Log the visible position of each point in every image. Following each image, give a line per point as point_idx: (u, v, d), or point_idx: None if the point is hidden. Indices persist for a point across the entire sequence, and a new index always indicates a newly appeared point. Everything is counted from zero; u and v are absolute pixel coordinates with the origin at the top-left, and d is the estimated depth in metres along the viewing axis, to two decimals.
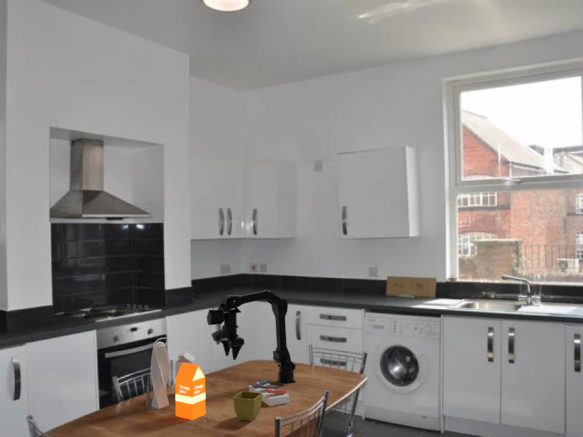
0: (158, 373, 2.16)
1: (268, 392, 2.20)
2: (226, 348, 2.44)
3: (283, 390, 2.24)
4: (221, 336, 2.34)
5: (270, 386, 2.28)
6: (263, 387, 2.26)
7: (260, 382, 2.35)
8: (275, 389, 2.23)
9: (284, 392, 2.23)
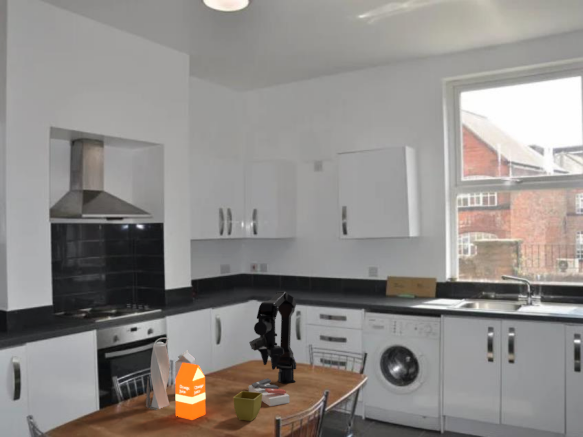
0: (158, 373, 2.16)
1: (268, 392, 2.20)
2: (264, 356, 2.35)
3: (283, 390, 2.24)
4: (260, 345, 2.25)
5: (270, 386, 2.28)
6: (263, 387, 2.26)
7: (260, 382, 2.35)
8: (275, 389, 2.23)
9: (284, 392, 2.23)
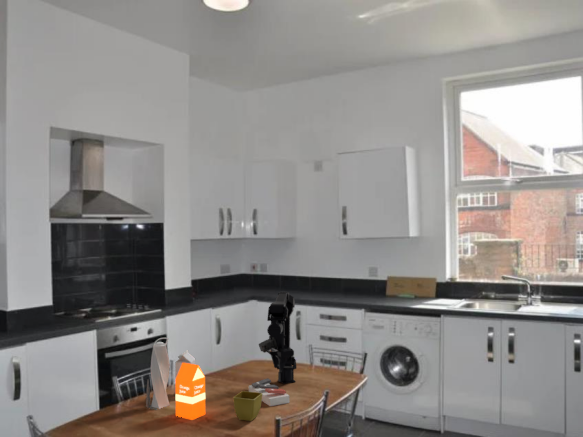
0: (158, 373, 2.16)
1: (268, 392, 2.20)
2: (275, 359, 2.32)
3: (283, 390, 2.24)
4: (270, 347, 2.23)
5: (270, 386, 2.28)
6: (263, 387, 2.26)
7: (260, 382, 2.35)
8: (275, 389, 2.23)
9: (284, 392, 2.23)
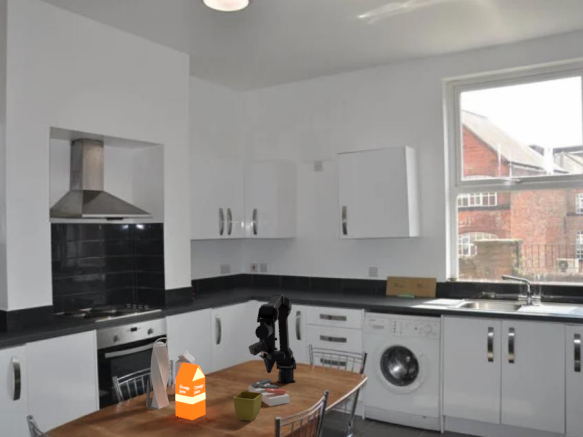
0: (158, 373, 2.16)
1: (268, 392, 2.20)
2: None
3: (283, 390, 2.24)
4: (260, 349, 2.16)
5: (270, 386, 2.28)
6: (263, 387, 2.26)
7: (260, 382, 2.35)
8: (275, 389, 2.23)
9: (284, 392, 2.23)
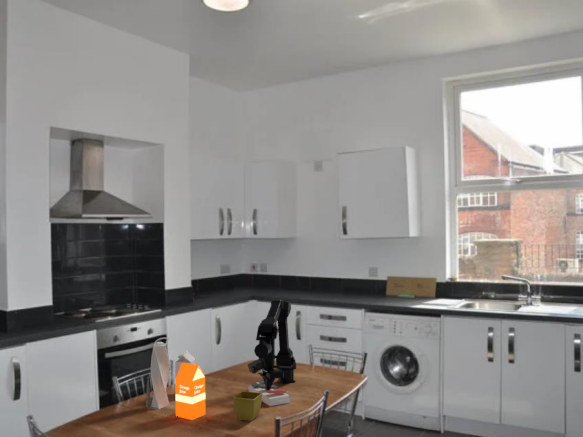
0: (158, 373, 2.16)
1: (268, 392, 2.20)
2: None
3: (283, 390, 2.24)
4: (259, 368, 2.15)
5: None
6: (263, 387, 2.26)
7: (260, 382, 2.35)
8: (275, 389, 2.23)
9: (284, 392, 2.23)
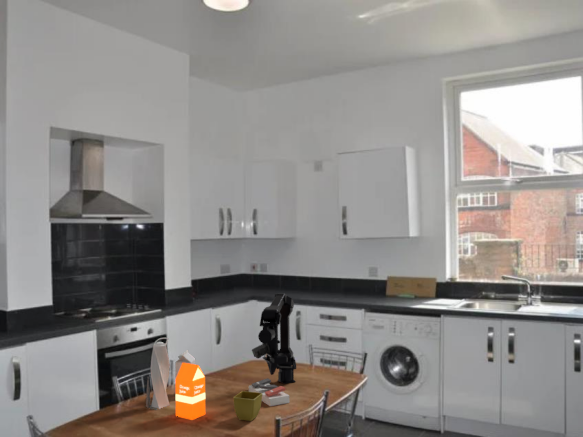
0: (158, 373, 2.16)
1: None
2: None
3: (282, 387, 2.23)
4: (263, 353, 2.21)
5: (270, 386, 2.28)
6: (263, 387, 2.26)
7: (260, 382, 2.35)
8: (274, 389, 2.23)
9: (284, 389, 2.23)
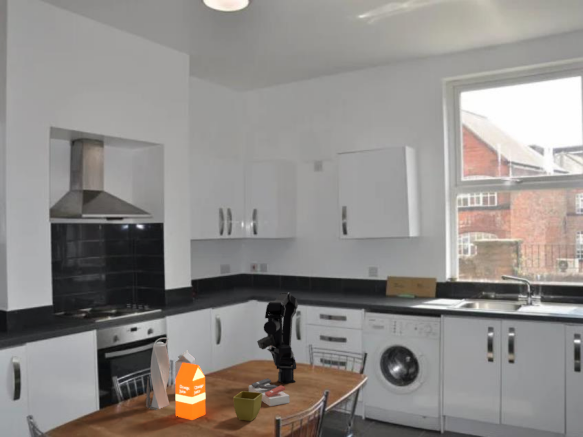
0: (158, 373, 2.16)
1: (268, 396, 2.20)
2: None
3: (282, 387, 2.23)
4: (268, 344, 2.29)
5: (270, 386, 2.28)
6: (263, 387, 2.26)
7: (260, 382, 2.35)
8: (274, 389, 2.23)
9: (283, 389, 2.23)
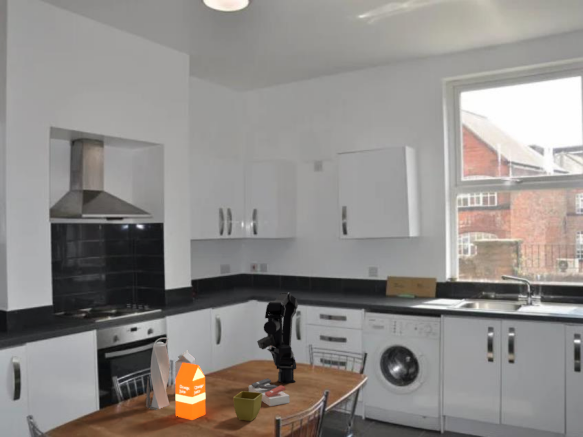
0: (158, 373, 2.16)
1: (268, 396, 2.20)
2: None
3: (282, 387, 2.23)
4: (268, 344, 2.29)
5: (270, 386, 2.28)
6: (263, 387, 2.26)
7: (260, 382, 2.35)
8: (274, 389, 2.23)
9: (283, 389, 2.23)
